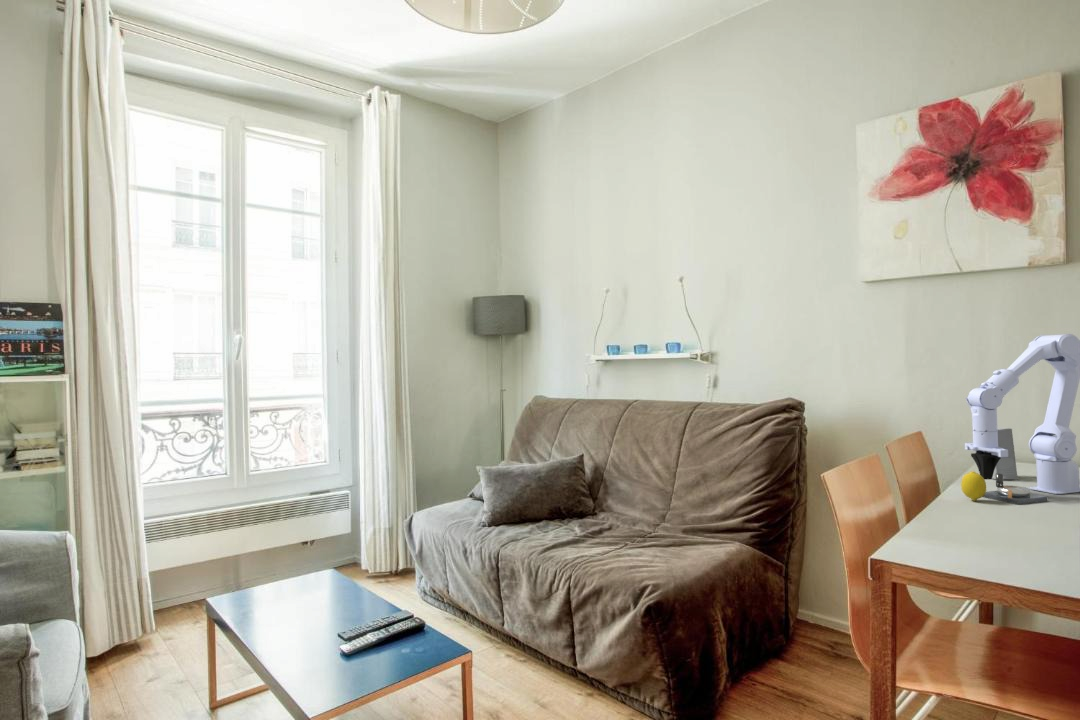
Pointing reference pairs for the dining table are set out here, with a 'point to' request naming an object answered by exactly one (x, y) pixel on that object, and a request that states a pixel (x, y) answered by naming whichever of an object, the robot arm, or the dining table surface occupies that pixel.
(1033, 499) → the dial plate
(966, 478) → the lemon
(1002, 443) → the skincare box
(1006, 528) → the dining table surface
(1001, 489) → the dial
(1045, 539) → the dining table surface
